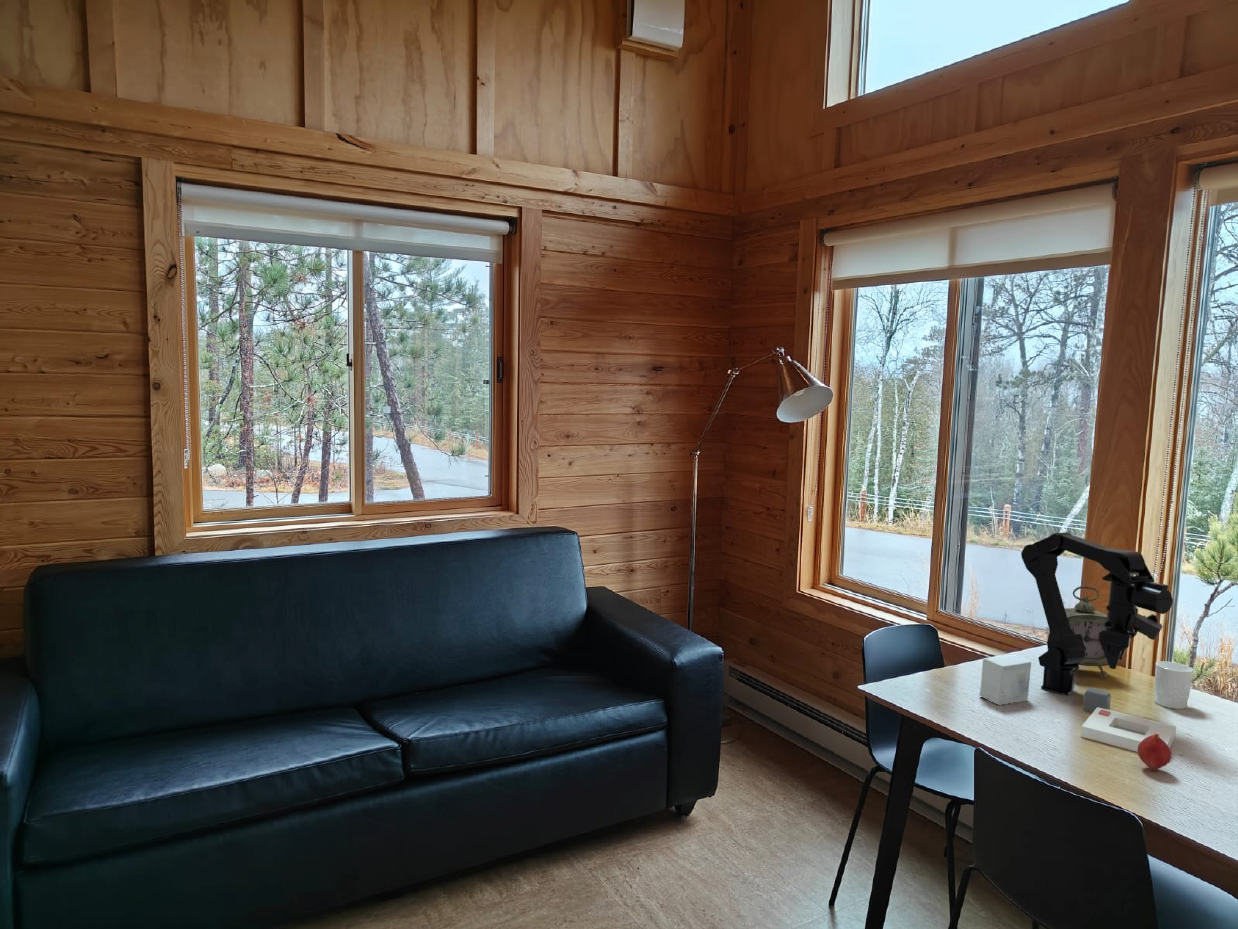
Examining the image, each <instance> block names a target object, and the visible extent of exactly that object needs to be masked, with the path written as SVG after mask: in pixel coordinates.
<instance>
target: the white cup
mask: <svg viewBox="0 0 1238 929" xmlns="http://www.w3.org/2000/svg"><path fill="white" fill-rule="evenodd" d="M1193 672H1194V668H1192V667H1191V666H1189V665H1186V664H1183V663H1179V662H1173V661H1167V660H1166V661H1163V660H1161V661H1156V662H1155V675H1154V681H1155V682H1154V691H1155V694H1154V695H1155V696H1154V697H1155V698H1154V700H1155V703H1156V704H1157V705H1160V706H1162V707H1166V708H1170V709H1173V708H1176V709H1175V710H1184V708H1185V709H1186V708H1188V702H1189V698H1190V692H1191V687H1192V686H1191V685H1192V681H1193V680H1192V679H1193Z"/></svg>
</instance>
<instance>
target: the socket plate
mask: <svg viewBox="0 0 1238 929" xmlns="http://www.w3.org/2000/svg"><path fill="white" fill-rule="evenodd" d="M1155 733H1158V734H1159V737H1160V738H1161V739H1162V740H1163V741H1164V742H1165V743H1166V744H1167V745H1168V747H1169V749H1170V748H1171V746H1172V745H1173V743H1174V741H1175V739H1176V734H1177V726H1175V725H1173V724H1169V723H1164V722H1160V721H1155V720H1151V719H1148V718H1144V717H1140V716H1136V715H1130V714H1127V713H1124V712H1123V713H1122V712H1119V711H1115V710H1111V709H1110V710H1107V709H1103V708H1099V707H1097V708H1096V709H1095V711H1094V712H1091V714H1090V715H1089V717H1088V718H1087V719H1086V720H1085V721H1084V723H1083V724H1082V725H1081V732H1080V738H1085V739H1089V740H1092V741H1095V742H1099V743H1103V744H1107V745H1110V746H1115V747H1118V748H1122V749H1126V750H1129V751H1132V752H1137V753H1138V745H1139V744H1140V742H1141V741H1142V740H1144V739H1145V738H1147V737H1149V736H1152V735H1154V734H1155ZM1170 750H1171V749H1170Z"/></svg>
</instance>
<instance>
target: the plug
mask: <svg viewBox="0 0 1238 929" xmlns="http://www.w3.org/2000/svg"><path fill="white" fill-rule="evenodd" d="M1083 694H1084V695H1083V706H1082V710H1083V711H1087V712H1090V713H1093V712H1094V711H1095V709H1096V708H1097V707H1099V708H1103V709H1107V710H1111V699H1112V694H1111V693H1110V691H1108V690H1103V689H1100V688H1099V689H1098V688H1095V687H1092V686H1091V687H1090V686H1089V687H1088V688H1087V689H1086V691H1084V693H1083Z"/></svg>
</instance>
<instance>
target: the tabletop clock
mask: <svg viewBox="0 0 1238 929" xmlns="http://www.w3.org/2000/svg"><path fill="white" fill-rule="evenodd" d="M1080 589H1081V590H1082V589H1086V590H1087V589H1090V590H1093V591H1095V592H1096V594H1097V596H1095V597H1092V598H1088V596H1087V595H1084V596H1083V597H1078V596H1077V595H1076V594H1075V593H1076V592H1077V591H1078V590H1080ZM1072 595H1073V598H1075V600H1079V602H1078V603H1076V604H1075V606H1074V607H1071V608H1070V607H1068V608H1067V607H1066V608H1065V607H1064V608H1065V611H1066V615H1067V618H1068V622H1069V625H1070V628H1071V630H1072V631H1073V632H1074V633H1075V634H1081V635H1082V637H1083V643H1084V646H1085V647H1086V650H1085V657H1084V659H1083V660H1082V661H1081V662H1080V664H1079V666H1078V668H1073V671H1079V670H1080V666H1083V667H1084V666H1085V667H1097V668H1098V669H1099V670H1100V677H1103V678H1106V677H1107V676H1108V672H1107V671H1105V670H1104V669H1103V667H1105V666H1109V664H1108V661H1107V659H1106V656H1105V653H1104V651H1103V648H1102V646H1101V644H1100V642H1099V641H1098V637H1099V632H1100V631H1101V630H1102V629H1104V628H1105V627H1107V626H1105V622H1106V620H1107V615H1106V614H1104V613H1103V612H1101V611H1099V610H1096V608H1095V606H1094V604H1093V603H1091V602H1092V601H1095V600H1097V599H1098V598H1099V597H1100V592H1099V590H1098V589H1097V588H1096V587H1093V586H1089V585H1081V586H1078V587H1076V588H1074V589H1073V591H1072ZM1108 628H1110V627H1108Z"/></svg>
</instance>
